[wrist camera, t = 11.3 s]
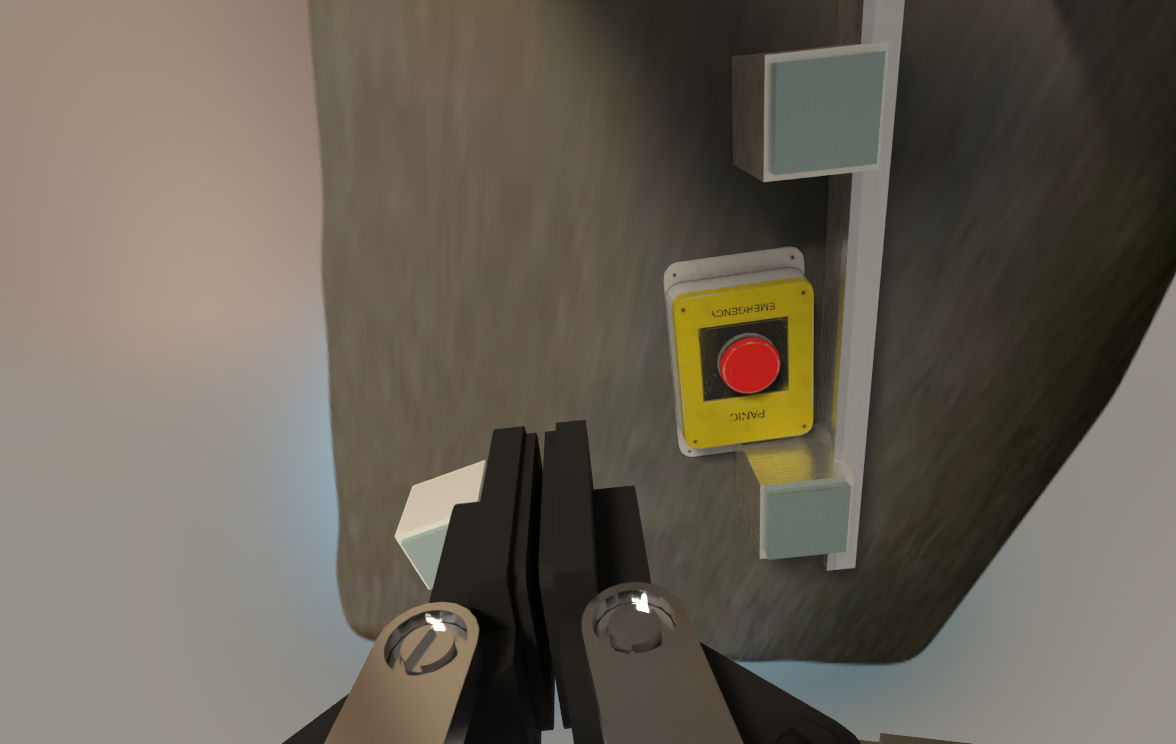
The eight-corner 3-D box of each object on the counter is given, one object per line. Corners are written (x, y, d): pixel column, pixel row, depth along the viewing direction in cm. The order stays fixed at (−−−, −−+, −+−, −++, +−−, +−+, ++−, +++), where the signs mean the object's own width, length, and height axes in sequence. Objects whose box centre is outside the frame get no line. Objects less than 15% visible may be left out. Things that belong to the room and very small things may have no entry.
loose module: (412, 485, 50) (392, 541, 44) (485, 459, 49) (475, 513, 44) (442, 534, 52) (427, 594, 46) (512, 510, 51) (506, 568, 46)
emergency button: (824, 259, 40) (822, 470, 46) (801, 242, 44) (801, 437, 50) (670, 281, 40) (688, 487, 46) (660, 262, 44) (678, 454, 50)
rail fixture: (730, -14, 37) (769, -31, 30) (865, -28, 37) (935, -50, 30) (735, 534, 53) (761, 604, 46) (829, 524, 53) (869, 593, 46)
